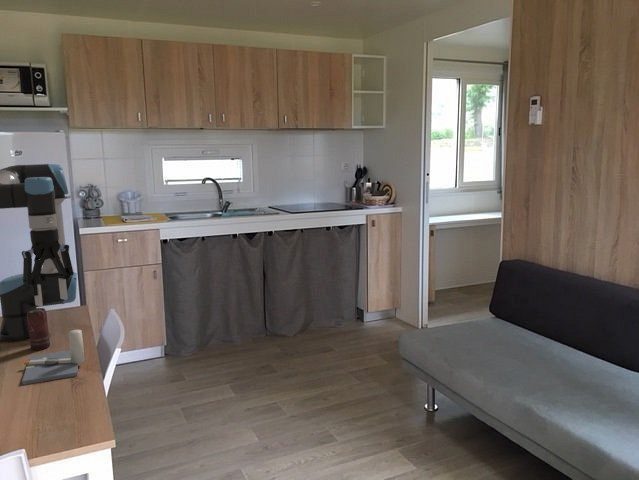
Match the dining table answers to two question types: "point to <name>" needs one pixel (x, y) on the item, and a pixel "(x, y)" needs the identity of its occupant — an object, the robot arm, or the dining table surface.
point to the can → (38, 329)
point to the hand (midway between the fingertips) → (51, 302)
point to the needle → (75, 351)
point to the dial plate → (49, 368)
